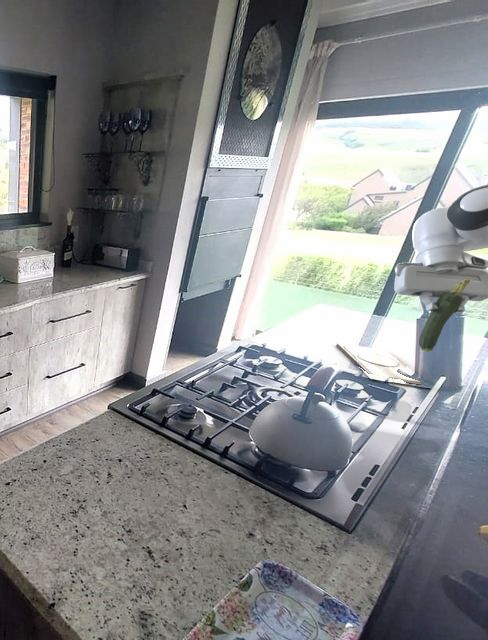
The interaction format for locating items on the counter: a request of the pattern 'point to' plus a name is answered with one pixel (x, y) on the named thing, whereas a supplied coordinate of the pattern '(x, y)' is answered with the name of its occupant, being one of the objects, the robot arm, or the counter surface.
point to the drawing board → (376, 362)
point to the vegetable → (441, 316)
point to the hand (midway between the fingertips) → (445, 311)
